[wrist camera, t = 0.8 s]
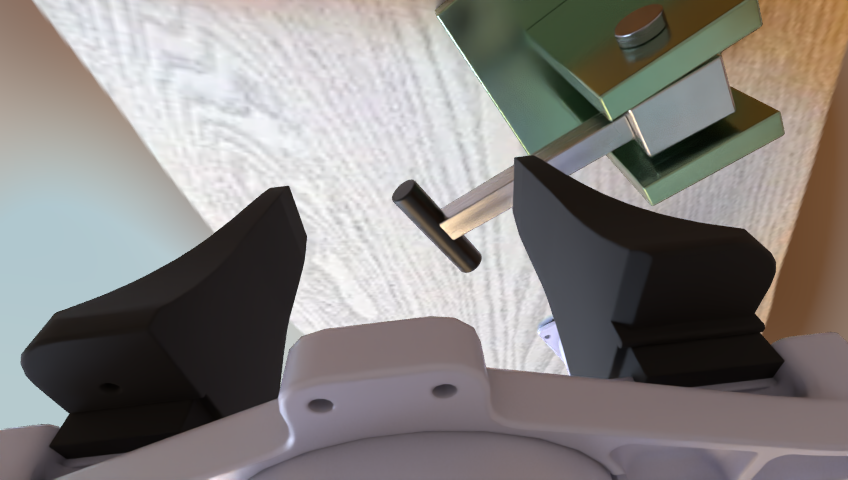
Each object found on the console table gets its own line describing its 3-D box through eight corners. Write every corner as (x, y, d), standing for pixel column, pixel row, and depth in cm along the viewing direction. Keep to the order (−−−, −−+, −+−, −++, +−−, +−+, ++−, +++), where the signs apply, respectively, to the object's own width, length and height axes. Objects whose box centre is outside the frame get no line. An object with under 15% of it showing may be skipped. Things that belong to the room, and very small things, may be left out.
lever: (458, 251, 20) (462, 287, 18) (392, 181, 18) (389, 215, 16) (708, 114, 16) (746, 144, 14) (670, -6, 13) (711, 11, 11)
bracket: (541, 174, 25) (608, 289, 17) (433, 10, 19) (462, 75, 12) (712, 67, 22) (889, 151, 14) (644, -170, 16) (880, -246, 8)
